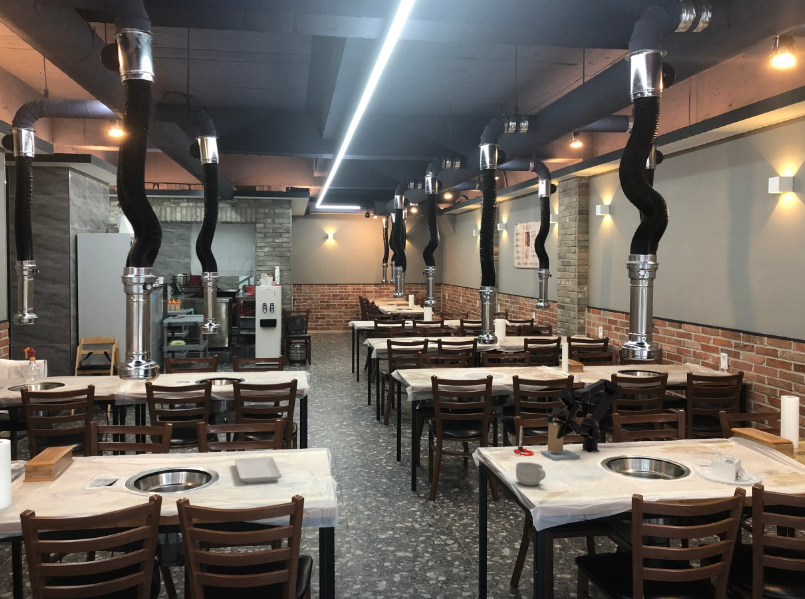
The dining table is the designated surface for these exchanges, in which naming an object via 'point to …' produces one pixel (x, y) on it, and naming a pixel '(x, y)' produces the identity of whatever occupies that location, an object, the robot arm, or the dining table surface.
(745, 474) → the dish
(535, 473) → the teacup
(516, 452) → the tow hook
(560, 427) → the gold metal block
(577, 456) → the mat
